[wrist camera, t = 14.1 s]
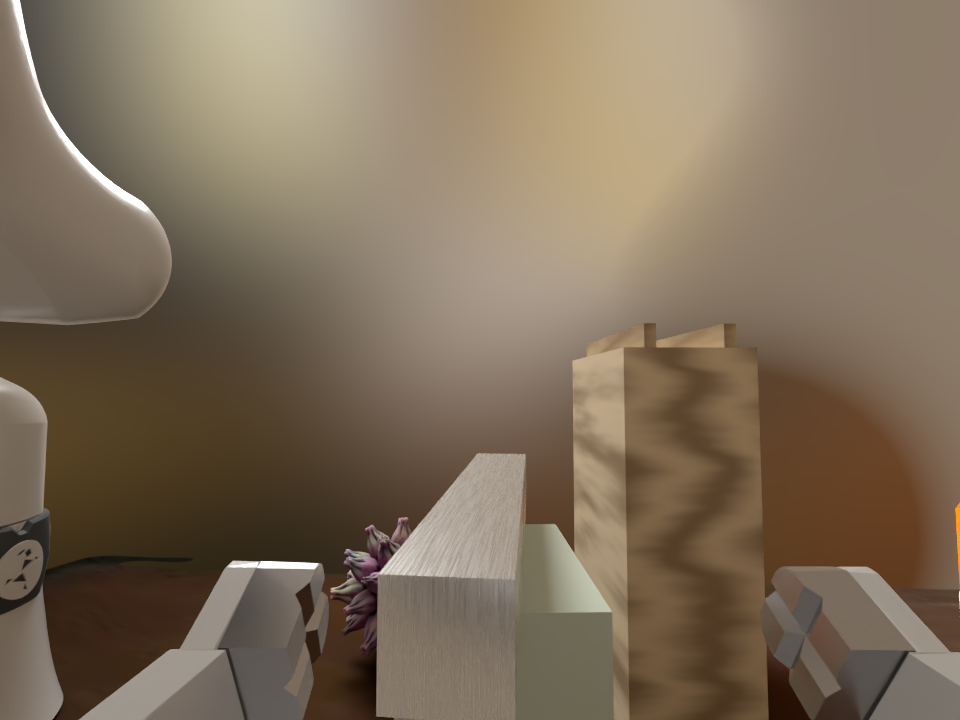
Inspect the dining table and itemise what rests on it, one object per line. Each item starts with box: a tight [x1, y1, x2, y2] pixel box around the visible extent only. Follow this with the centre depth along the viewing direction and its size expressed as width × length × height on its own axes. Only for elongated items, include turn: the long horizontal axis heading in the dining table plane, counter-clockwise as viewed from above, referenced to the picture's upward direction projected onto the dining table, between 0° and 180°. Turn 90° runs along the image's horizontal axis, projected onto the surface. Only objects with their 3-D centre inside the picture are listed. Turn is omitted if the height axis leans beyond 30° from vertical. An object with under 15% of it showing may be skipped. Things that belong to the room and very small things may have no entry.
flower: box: [330, 517, 412, 656], centre depth 44 cm, size 12×12×12 cm
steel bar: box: [376, 454, 526, 720], centre depth 24 cm, size 4×24×4 cm
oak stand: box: [573, 323, 769, 720], centre depth 41 cm, size 9×16×28 cm, turn 2°
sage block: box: [394, 524, 614, 720], centre depth 24 cm, size 8×12×15 cm, turn 1°
